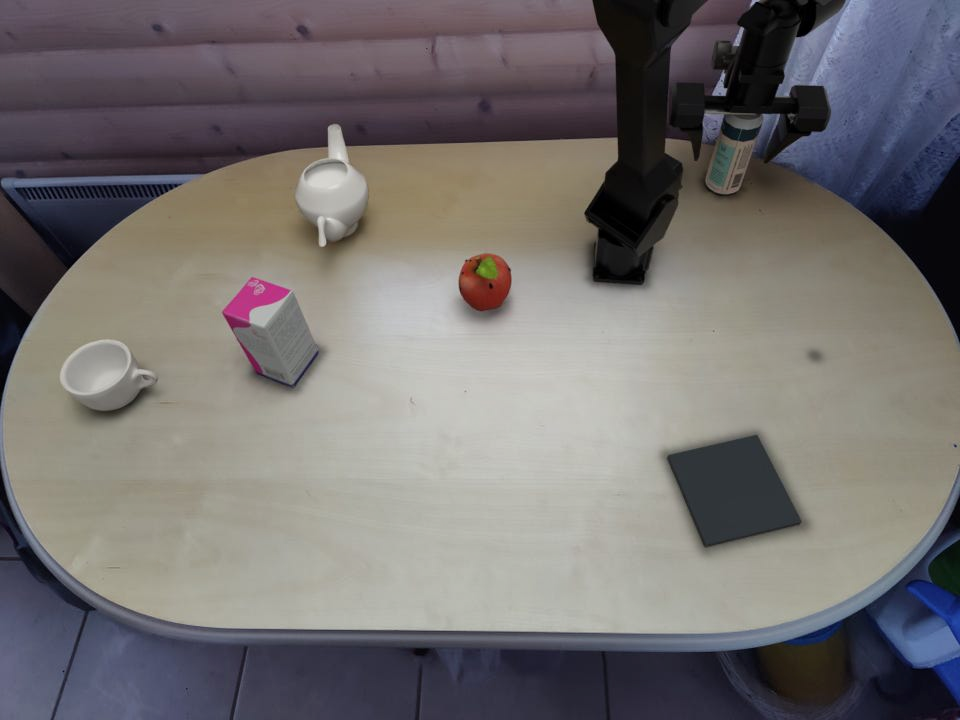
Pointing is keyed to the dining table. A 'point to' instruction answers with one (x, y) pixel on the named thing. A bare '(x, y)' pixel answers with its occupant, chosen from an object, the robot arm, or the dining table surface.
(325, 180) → the teapot
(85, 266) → the dining table surface
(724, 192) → the cream label cylinder
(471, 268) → the apple
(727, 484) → the mat
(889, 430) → the dining table surface
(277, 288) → the supplement box
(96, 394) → the teacup
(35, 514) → the dining table surface
